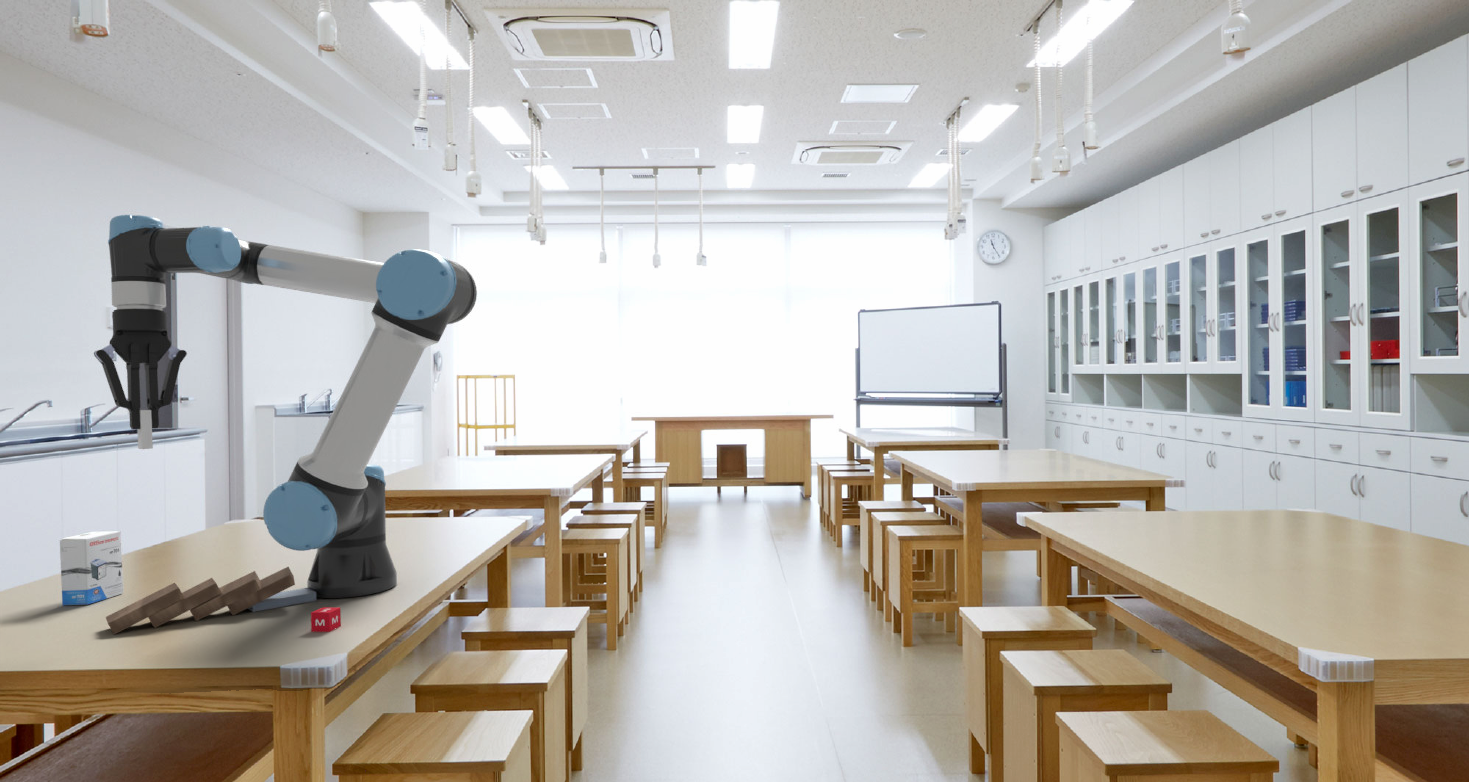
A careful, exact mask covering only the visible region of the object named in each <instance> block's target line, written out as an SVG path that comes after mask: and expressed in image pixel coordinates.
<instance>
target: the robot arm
mask: <svg viewBox="0 0 1469 782" xmlns="http://www.w3.org/2000/svg"><path fill="white" fill-rule="evenodd" d="M108 232H109V234H108V235H109V236H108V237H109V238H108V241H107V244H108V249H109V260H110V273H111V281H110V283H111V305H112V306H113V307H114V308H116V309H114V310H113V311H111V315H112V337H111V339H110V340H109V344H108V345H107V346H104V347H103V348H101V349H98V350H97V349H96V350H95V351H94V352H93V355H94V357H95V358H96V359H97V361H98V362H99V363H100V364H101V366H102V368H103V369H102V370H103V372H104V375H105V377H106V380H107V383H108V386H109V389H110V392H111V395H112V398H113V401H114V404H115V406H116V407H119V408H123V409H126V410H127V411H128V413H129V427H130V429H131V430H137V449H138V450H150V449H152V450H153V448H154V446H153V445H154V444H153V429H158V427H159V426H160V423H159V421H160V420H159V410H160V408H163V407H166V406H169V405H171V403H172V400H173V395H174V392H175V386H176V383H177V380H178V375H179V370H180V366H181V364H182V362H183V360H185V358H186V357H187V355H188V353H187V351H186V350H184V349H179V348H178V347H176V346H174V345H172V340H171V339H170V337H169V334H168V314H167V312H166V311H165V310H163V309H164V308H167V295H166V294H167V293H166V290H167V289H166V274H188V273H189V274H191V273H193V274H203V275H206V276H212V277H216V278H222V279H226V280H227V279H228V280H231V281H232V280H233V281H236V282H239V283H243V284H248V285H261V286H269V287H274V288H281V289H286V290H293V291H299V292H306V293H311V294H317V295H324V296H330V297H335V298H340V299H341V298H342V299H347V300H349V299H350V300H353V301H359V302H364V303H365V302H366V303H372V304H373V303H374V306H373V308H372V310H371V312H370V313H371V316H372V319H373V321H374V328H373V330H372V333H371V335H370V337H369V338H368V340H367V343H366V345H365V346H364V349H363V351H362V353H361V355H360V356H359V359H358V361H357V363H356V365H355V367H354V369H353V370H352V373H351V375H350V376H349V378H348V381H347V383H346V385H345V387H344V389H343V391H342V393H341V395H340V397H339V399H338V401H337V403H336V406H335V407H334V409H333V411H332V414H331V415H330V418H329V420H328V421H327V423H326V425H325V427H324V429H323V432H322V433H321V435H320V437H319V439H318V442H317V444H316V445H315V447H314V449H313V452H311V453H308V454H305V455H303V456H300V457H299V458H298V460H297V462H296V463H295V466H294V467H293V470H292V472H291V474H290V476H289V478H288V480H287V481H286V482H284V483H281V484H279V485H278V486H276V487H275V489H273V490H272V491H271V492H270V493H269V495H267V498H266V500H265V502H264V506H263V512H262V513H263V521H264V525H266V528H267V530H268V531H267V532H268V534H269V535H270V537H271V538H272V539H273V540H275V542H277V543H278V544H279V545H281V546H282V547H284V548H287V549H289V550H293V551H299V552H300V551H301V552H303V551H310V550H316V554H315V557H314V559H313V562H312V566H311V569H310V572H309V576H308V578H307V584H306V585H307V587H306V588H309V589H311V590H313V591H315V592H316V598H319V599H321V598H322V599H339V598H341V599H342V598H343V599H344V598H353V597H360V596H361V597H362V596H368V595H373V594H378V593H381V592H384V591H388V590H389V589H392V588H394V587H395V586H396V585H397V584H398V579H397V577H398V576H397V570H396V567H395V565H394V562H393V558H392V557H391V554H390V552H389V548H388V546H387V542H386V541H387V539H386V538H387V537H386V535H387V534H386V533H387V531H386V529H387V527H386V525H387V524H386V521H387V520H386V484H387V483H386V481H385V473H384V469H383V468H382V467H381V466H380V465H376V464H369V462H370V460H371V458H372V456H373V454H374V452H375V450H376V448H377V446H378V444H379V442H380V440H381V438H382V437H383V435H384V432H385V429H386V428H387V426H388V424H389V422H390V420H391V417H392V415H393V414H394V412H395V410H396V408H397V406H398V403H399V402H400V399H401V397H402V396H403V394H404V392H405V389H406V388H407V386H408V383H409V381H410V380H411V378H412V376H413V373H414V371H415V369H416V367H417V365H418V364H419V361H420V359H421V357H422V355H423V353H424V351H425V349H426V348H427V347H429V346H433V345H436V344H438V343H439V342H440V340H441V338H442V336H443V334H444V332H445V330H446V328H447V325H452V324H455V323H458V322H460V321H462V320H463V319H465V318H466V317H467V316H468V315H469V314H470V313H471V312H472V310H473V309H474V307H475V304H476V301H477V297H478V296H477V295H478V294H477V293H478V292H477V286H476V282H475V280H474V278H473V275H472V274H471V272H469V271H468V269H467V268H466V267H464V266H463V265H461V264H460V263H458V262H455V261H453V260H450V259H448V258H446V257H444V256H442V255H441V254H439V253H435V252H433V251H431V250H426V249H425V250H424V249H418V248H417V249H416V248H413V249H411V248H410V249H406V250H402V251H399V252H397V253H395V254H393V255H392V256H391V257H389V258H388V259H387V260H386V261H385V262H377V261H374V260H373V261H371V260H366V259H360V258H354V257H349V256H348V257H347V256H339V255H334V254H328V253H323V252H316V251H309V250H304V249H303V250H302V249H299V248H291V247H285V246H278V245H272V244H266V243H259V242H254V241H248V240H243V239H239V238H238V237H237V236H236V234H235V235H234V233H233V231H232V230H231V229H229V228H226V227H221V226H211V225H203V226H196V227H175V228H174V227H172V228H171V227H170V228H165V227H164V225H163V221H162V220H160V219H159V218H156V217H153V216H147V215H132V214H123V215H122V214H121V215H116V216H114V217H112V218H110V221H109V231H108ZM114 352H115V353H116V354H117V355H118V356H119V358H120V359H121V360H122V361H123V362H125V365H126V367H125V368H126V374H127V376H126V379H127V397H126V394H125V391H124V389H123V385H122V383H121V379H120V376H119V374H118V371H117V368H116V364H115V363H114V360H113V359H114V358H115V354H114ZM167 352H168V355H167V358H168V359H169V361H168V364H167V368H166V371H165V374H164V375H165V376H164V379H163V383H162V388H161V392H160V395H159V381H158V380H159V379H158V377H159V375H158V370H159V362H160V360H161V359H162V358H163V357H164V355H165V354H166V353H167ZM140 364H144V366H143V367H144V371H145V373H144V375H145V391H146V393H145V394H146V408H147V409H141V387H140V386H141V383H140V381H141V379H140V367H141V366H140Z"/></svg>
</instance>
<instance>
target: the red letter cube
mask: <svg viewBox="0 0 1469 782" xmlns="http://www.w3.org/2000/svg"><path fill="white" fill-rule="evenodd" d="M341 611H342V610H341V607H333V606H332V607H330V606H329V607H328V606H327V607H324V606H323V607H321V608H318V609H316V610H314V611H311V612H310V623H311V624H310V625H311V626H310V627H311V628H310V631H311V632H313V633H314V632H316V633H317V632H318V633H319V632H321V633H323V632H324V633H329V632H333V631H334V630H336V629H338V628H340V627H342V618H341V617H342V616H341ZM335 628H336V629H335Z"/></svg>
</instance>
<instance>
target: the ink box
mask: <svg viewBox="0 0 1469 782" xmlns="http://www.w3.org/2000/svg"><path fill="white" fill-rule="evenodd" d="M59 553H60V554H59V555H60V574H61V575H60V579H61V582H60V583H61V600H62V601H61V602H62V603H61V604H62V606H83V605H85V606H87V605H90V604H94V603H97V602H100V601H103V600H108V599H110V598H113V597H116V596H119V595H122V594H124V581H123V580H124V577H123V576H124V575H123V574H124V573H123V558H122V557H123V555H122V535H121V531H120V530H118V531H116V530H115V531H114V530H113V531H110V530H109V531H108V530H107V531H106V530H105V531H104V530H103V531H102V530H101V531H100V530H99V531H96V530H95V531H90V532H86V533H81V534H77V535H72V536H67V537H63V538H61V539H60V540H59Z"/></svg>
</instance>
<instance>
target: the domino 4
mask: <svg viewBox="0 0 1469 782" xmlns="http://www.w3.org/2000/svg"><path fill="white" fill-rule="evenodd" d="M314 601H317V597H316V592H315V591H313V590H311V589H309V588H307V587H303V588H297V589H292V590H286V591H285V590H283V591H281V592H279V593H277V594H275V595H273V596H271V597H269V598H267V599H265V600H263V601H261V602H259V603H257V604H255V605H253V606H251V607H249V608H247V609H248V610H249V611H251V612H252V613H253V612H259V611H264V610H271V609H276V608H281V607H286V606H291V605H299V604H303V603H309V602H314Z"/></svg>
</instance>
